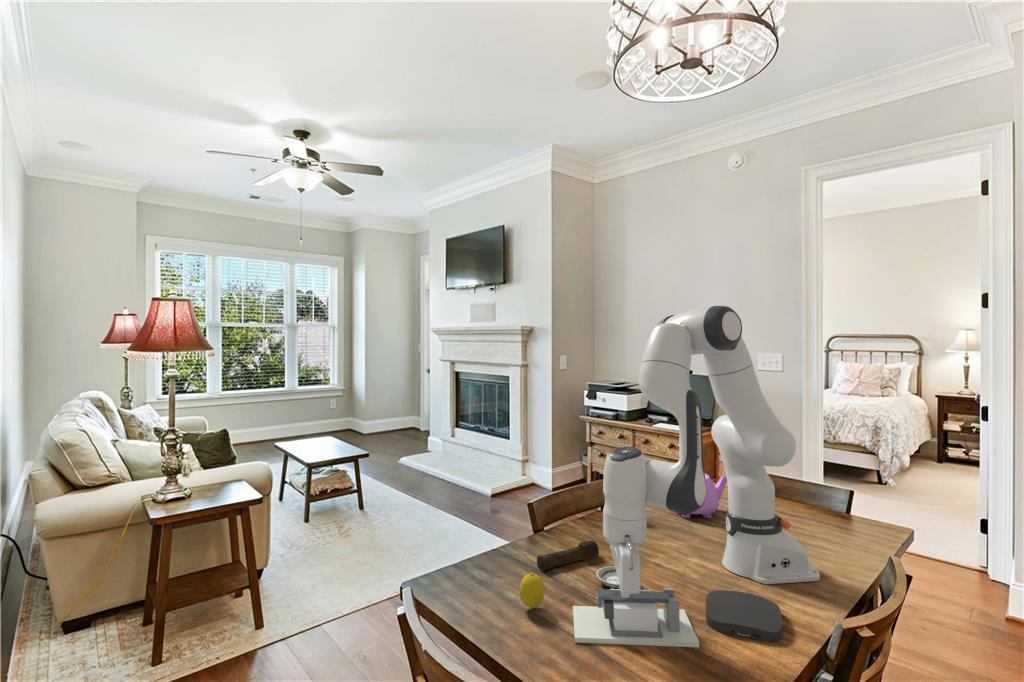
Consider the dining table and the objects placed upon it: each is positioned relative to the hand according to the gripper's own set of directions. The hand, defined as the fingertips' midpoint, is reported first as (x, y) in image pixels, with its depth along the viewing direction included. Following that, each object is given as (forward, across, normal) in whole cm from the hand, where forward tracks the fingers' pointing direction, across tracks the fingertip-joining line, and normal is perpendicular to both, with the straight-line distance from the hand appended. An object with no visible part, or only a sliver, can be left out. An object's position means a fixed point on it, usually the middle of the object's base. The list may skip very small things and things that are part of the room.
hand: (624, 594), depth 106 cm
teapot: (+6, +70, -34) cm, 79 cm away
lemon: (+7, +6, +19) cm, 22 cm away
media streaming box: (+7, +5, -26) cm, 27 cm away
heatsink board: (+7, 0, -2) cm, 7 cm away
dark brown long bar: (+7, +31, +11) cm, 33 cm away
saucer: (+7, +19, -1) cm, 21 cm away
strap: (+2, 0, -2) cm, 3 cm away
